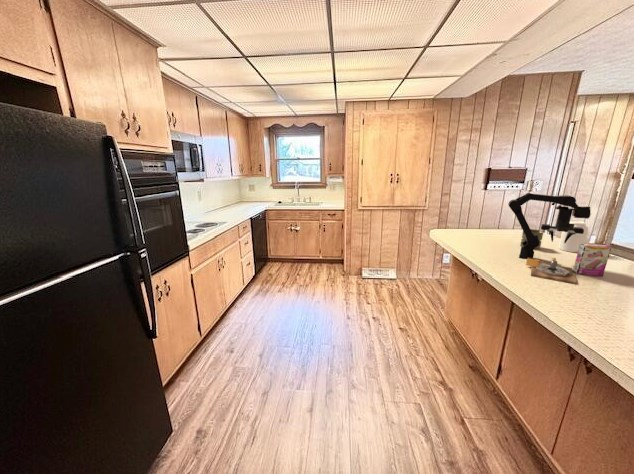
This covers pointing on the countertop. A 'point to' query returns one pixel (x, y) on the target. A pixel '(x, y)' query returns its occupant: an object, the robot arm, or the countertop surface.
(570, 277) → the walnut board
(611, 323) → the countertop surface
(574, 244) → the white container
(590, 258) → the candy bar box
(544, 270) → the flange plate
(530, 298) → the countertop surface
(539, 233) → the olive green cube
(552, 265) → the post
